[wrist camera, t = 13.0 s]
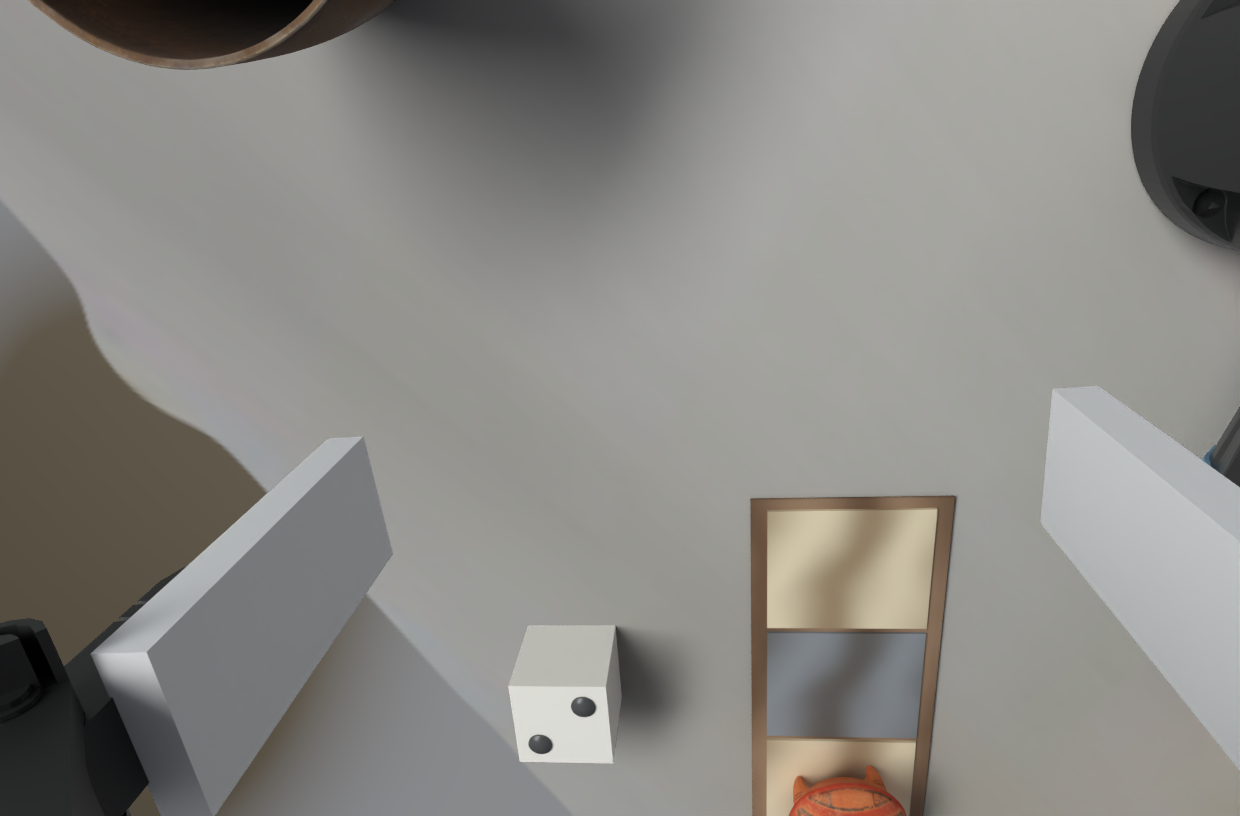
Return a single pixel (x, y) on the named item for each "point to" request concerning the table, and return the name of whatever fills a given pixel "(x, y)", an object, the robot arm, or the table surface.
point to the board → (845, 641)
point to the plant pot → (207, 27)
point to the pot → (845, 797)
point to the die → (567, 694)
